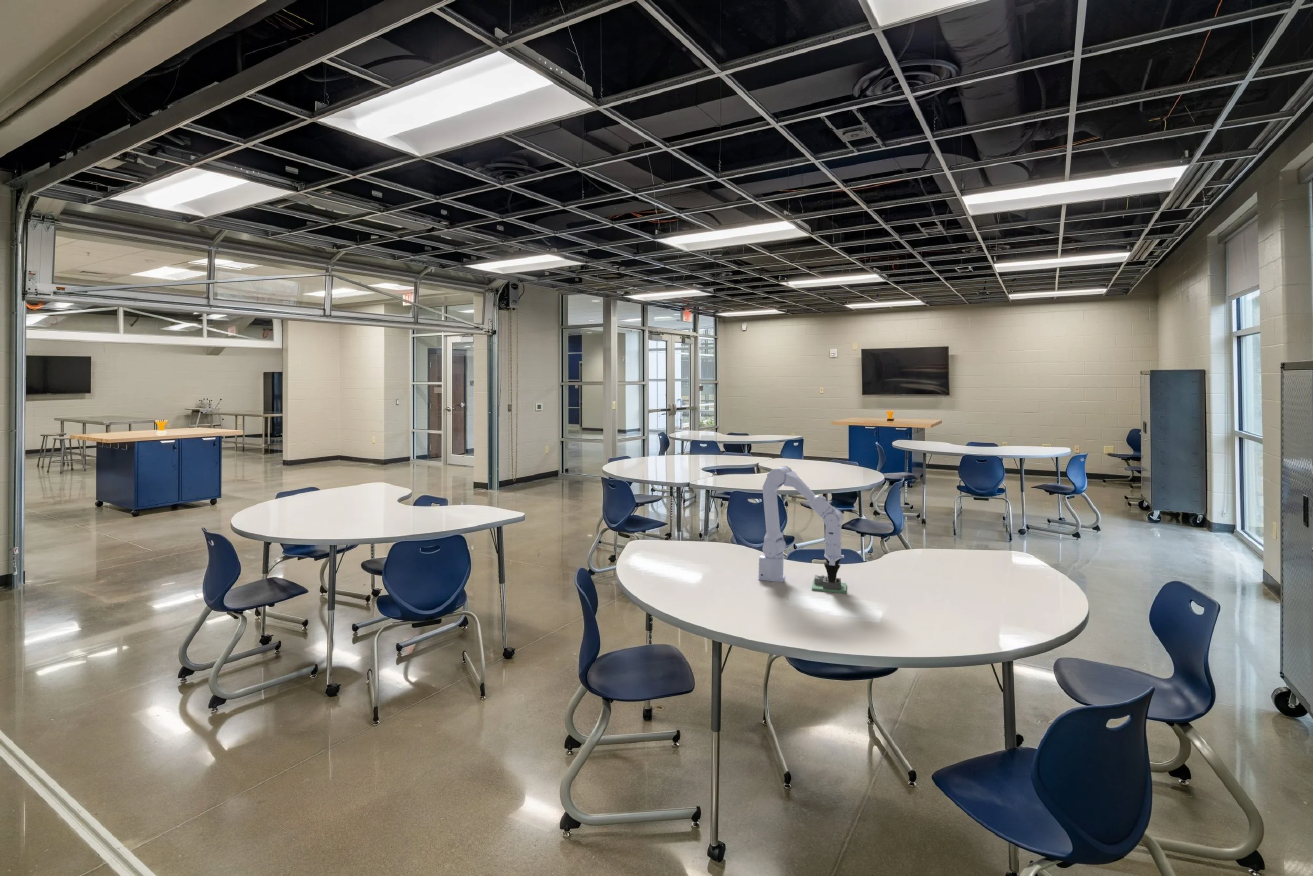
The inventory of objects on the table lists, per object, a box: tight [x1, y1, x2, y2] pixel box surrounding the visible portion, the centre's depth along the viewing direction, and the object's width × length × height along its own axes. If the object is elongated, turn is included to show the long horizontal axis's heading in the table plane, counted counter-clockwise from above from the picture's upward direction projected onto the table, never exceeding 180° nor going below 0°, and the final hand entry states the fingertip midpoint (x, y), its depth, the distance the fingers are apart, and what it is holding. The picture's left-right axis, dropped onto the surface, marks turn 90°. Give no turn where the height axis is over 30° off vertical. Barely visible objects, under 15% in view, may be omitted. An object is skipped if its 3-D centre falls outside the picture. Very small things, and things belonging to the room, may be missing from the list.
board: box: [811, 574, 847, 595], centre depth 229 cm, size 12×10×4 cm
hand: (832, 579), depth 228 cm, fingers open, 7 cm apart
